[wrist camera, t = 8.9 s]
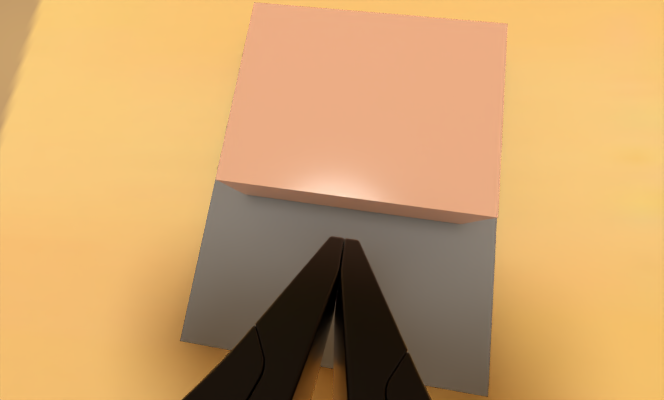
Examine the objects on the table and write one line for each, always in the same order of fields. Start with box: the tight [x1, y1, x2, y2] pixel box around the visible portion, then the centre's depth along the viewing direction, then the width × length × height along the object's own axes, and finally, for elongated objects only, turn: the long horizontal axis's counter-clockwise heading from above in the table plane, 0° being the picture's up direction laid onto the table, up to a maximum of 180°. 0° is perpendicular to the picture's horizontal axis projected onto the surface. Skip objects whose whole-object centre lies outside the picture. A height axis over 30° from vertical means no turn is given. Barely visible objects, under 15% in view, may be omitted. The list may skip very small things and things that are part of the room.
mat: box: [180, 51, 497, 397], centre depth 16 cm, size 19×16×1 cm
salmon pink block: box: [216, 2, 508, 224], centre depth 14 cm, size 4×12×9 cm
